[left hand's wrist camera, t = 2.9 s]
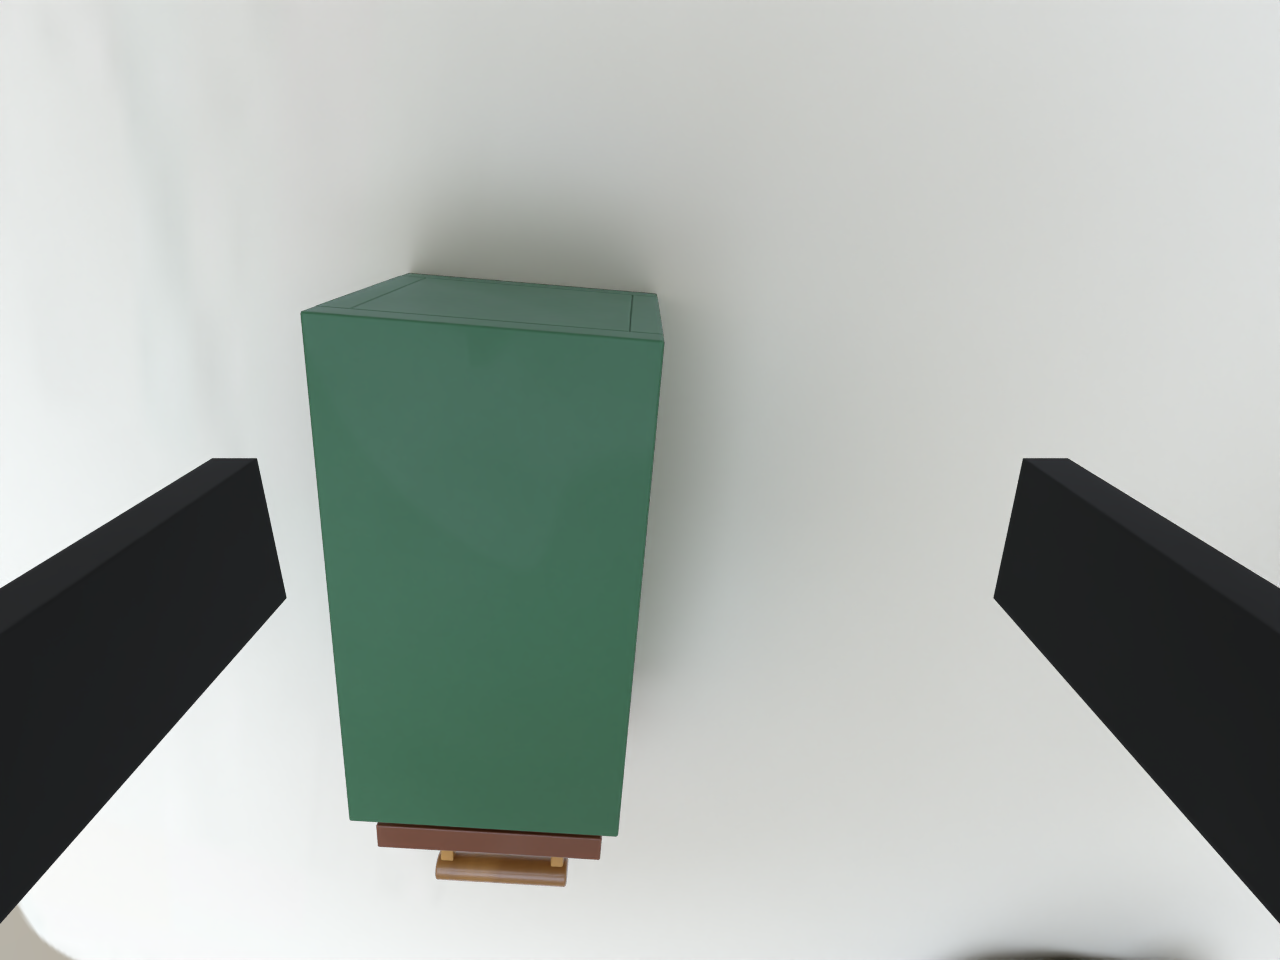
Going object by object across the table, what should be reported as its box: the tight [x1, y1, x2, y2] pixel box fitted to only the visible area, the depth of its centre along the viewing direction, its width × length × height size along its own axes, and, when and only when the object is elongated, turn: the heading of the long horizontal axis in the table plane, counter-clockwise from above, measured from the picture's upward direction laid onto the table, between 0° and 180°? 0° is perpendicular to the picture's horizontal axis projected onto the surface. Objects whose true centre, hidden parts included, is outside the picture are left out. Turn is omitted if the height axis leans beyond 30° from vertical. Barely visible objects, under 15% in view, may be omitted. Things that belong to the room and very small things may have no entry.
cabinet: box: [301, 273, 664, 837], centre depth 28 cm, size 19×10×10 cm, turn 175°
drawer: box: [376, 822, 602, 887], centre depth 31 cm, size 24×9×8 cm, turn 175°
